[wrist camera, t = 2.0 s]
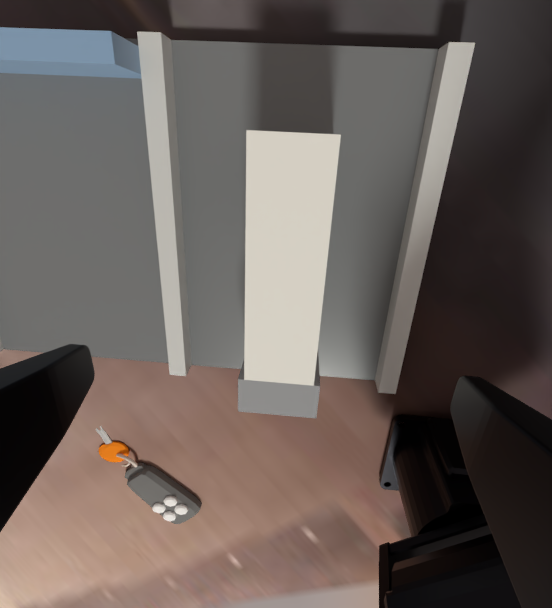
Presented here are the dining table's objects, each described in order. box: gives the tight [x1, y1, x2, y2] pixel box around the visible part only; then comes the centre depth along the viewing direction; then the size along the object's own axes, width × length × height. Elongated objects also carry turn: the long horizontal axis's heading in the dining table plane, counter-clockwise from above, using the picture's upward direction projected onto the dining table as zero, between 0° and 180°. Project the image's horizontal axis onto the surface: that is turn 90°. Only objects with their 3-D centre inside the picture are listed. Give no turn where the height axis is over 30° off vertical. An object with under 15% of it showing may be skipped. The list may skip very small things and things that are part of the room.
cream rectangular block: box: [238, 130, 341, 418], centre depth 18 cm, size 13×4×4 cm, turn 177°
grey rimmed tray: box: [0, 27, 475, 394], centre depth 18 cm, size 17×26×4 cm, turn 87°
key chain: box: [96, 426, 202, 524], centre depth 28 cm, size 13×4×2 cm, turn 40°
